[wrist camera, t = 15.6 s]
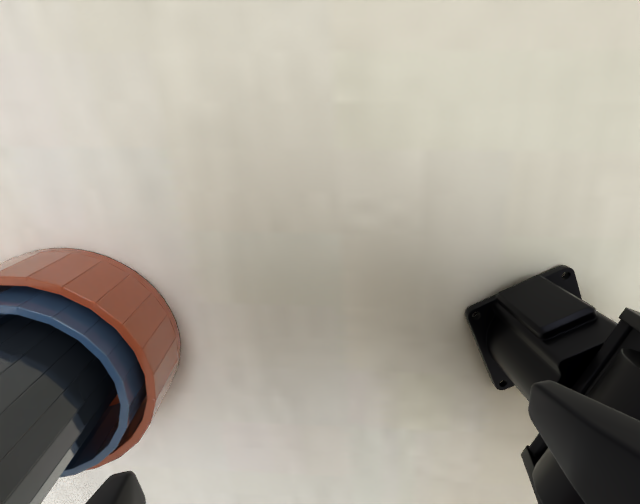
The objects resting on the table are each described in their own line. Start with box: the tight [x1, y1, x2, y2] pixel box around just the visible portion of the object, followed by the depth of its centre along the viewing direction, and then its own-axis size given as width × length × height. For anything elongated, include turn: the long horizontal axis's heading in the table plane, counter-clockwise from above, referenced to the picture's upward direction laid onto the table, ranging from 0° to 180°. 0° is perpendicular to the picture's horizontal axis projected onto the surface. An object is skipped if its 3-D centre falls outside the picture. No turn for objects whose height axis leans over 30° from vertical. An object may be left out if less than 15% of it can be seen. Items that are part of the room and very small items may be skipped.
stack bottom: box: [0, 248, 180, 471], centre depth 19 cm, size 11×11×4 cm
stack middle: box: [0, 285, 147, 478], centre depth 18 cm, size 10×10×5 cm
